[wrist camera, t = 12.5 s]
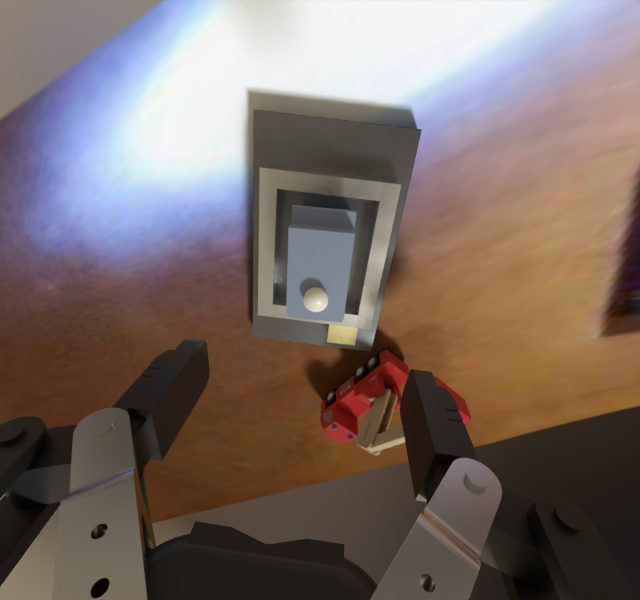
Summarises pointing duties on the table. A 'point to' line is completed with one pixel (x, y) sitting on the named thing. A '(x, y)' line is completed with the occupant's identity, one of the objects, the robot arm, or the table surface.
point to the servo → (319, 262)
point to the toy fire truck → (373, 404)
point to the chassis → (328, 192)
